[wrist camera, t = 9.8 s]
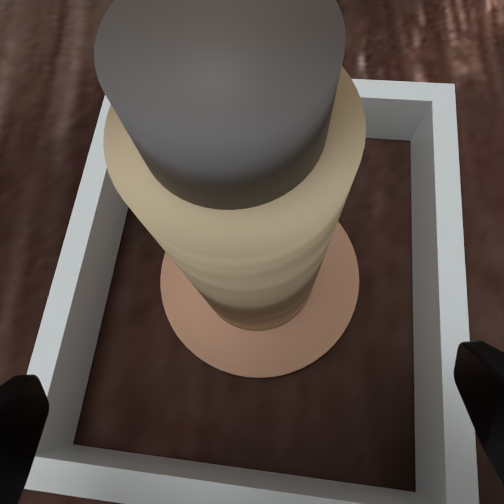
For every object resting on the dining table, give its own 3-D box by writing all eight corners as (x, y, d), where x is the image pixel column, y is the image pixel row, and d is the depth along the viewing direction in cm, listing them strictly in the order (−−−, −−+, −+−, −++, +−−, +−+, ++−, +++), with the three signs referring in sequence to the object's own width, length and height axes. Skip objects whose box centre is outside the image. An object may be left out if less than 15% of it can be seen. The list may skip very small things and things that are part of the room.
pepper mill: (309, 337, 17) (398, 209, 5) (194, 324, 17) (-1, 178, 5) (316, 228, 19) (397, -81, 6) (211, 220, 19) (92, -85, 7)
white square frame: (443, 525, 15) (482, 558, 12) (44, 467, 16) (-5, 484, 14) (429, 125, 21) (454, 84, 18) (133, 108, 22) (112, 67, 19)
